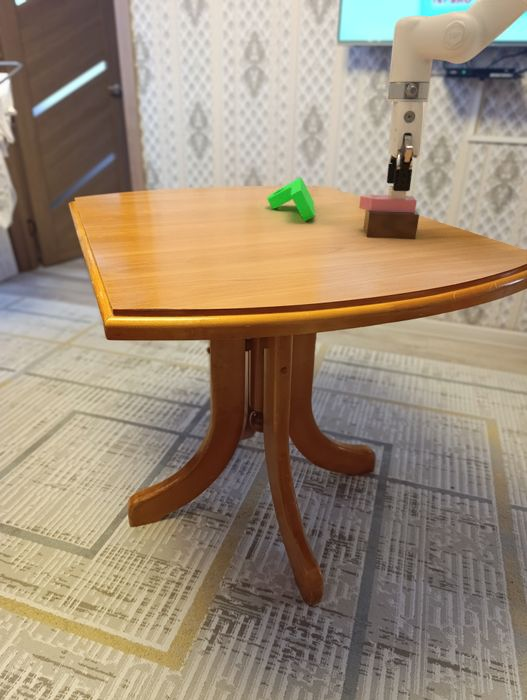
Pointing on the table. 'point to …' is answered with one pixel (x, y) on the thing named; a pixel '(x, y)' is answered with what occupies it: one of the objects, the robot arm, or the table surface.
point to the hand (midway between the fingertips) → (397, 186)
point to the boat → (389, 202)
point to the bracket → (294, 198)
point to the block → (391, 224)
